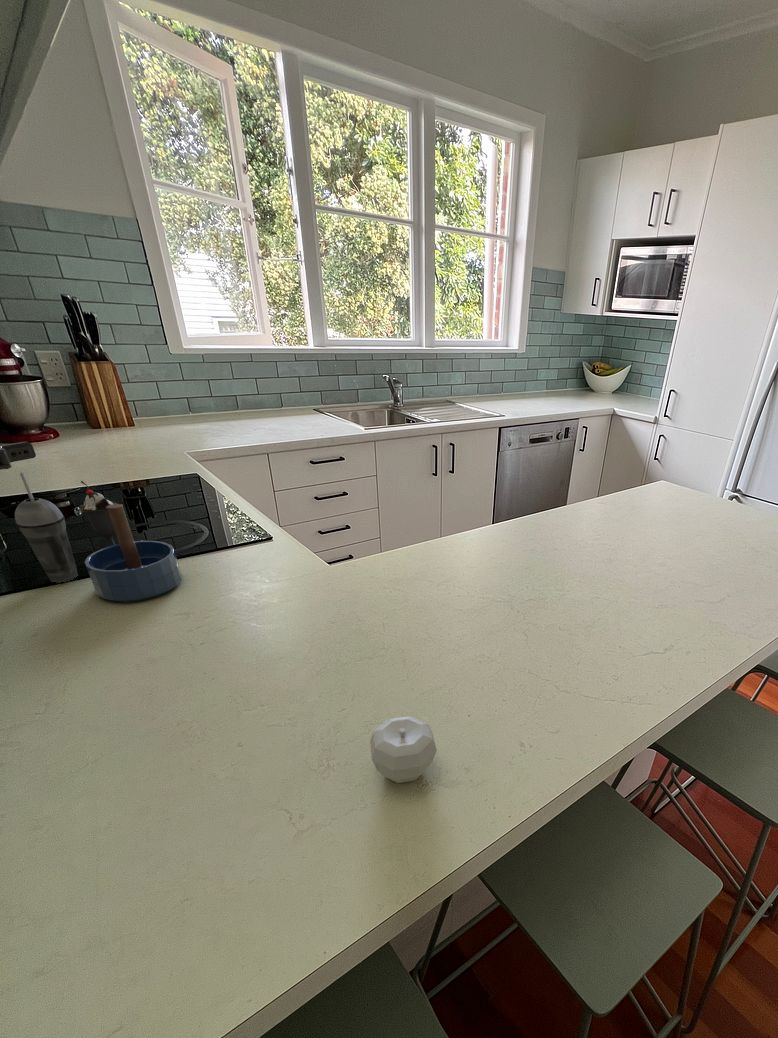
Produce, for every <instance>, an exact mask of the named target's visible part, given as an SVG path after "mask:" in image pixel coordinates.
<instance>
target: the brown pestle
mask: <svg viewBox="0 0 778 1038" xmlns="http://www.w3.org/2000/svg"><path fill="white" fill-rule="evenodd" d="M107 510H108V513H109V516H110V519H111V522H112V525H113V527H114V530H115V536H116V539H117V542H118V544H119V545H120V548H121V551H122V554H123V557H124V560H125V563H126V566H127V568H125V569H133V568H138V567H142V566H146V565H142V564H141V561H140V558H139V554H138V551H137V548H136V545H135V538H134V537H133V533H132V530H131V528H130V523H129V520H128V517H127V514H126V512H125V508H124V506H123V504H121V503H117V504H112V505H109V506H107ZM125 569H124V570H125Z"/></svg>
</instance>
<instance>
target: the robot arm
mask: <svg viewBox="0 0 778 1038" xmlns="http://www.w3.org/2000/svg"><path fill="white" fill-rule="evenodd" d="M36 456H37V453H36V451H35V448H34V446H33V444H32V443H31V442H29V441H19V442H13V443H8V444H1V443H0V471H2V470H9V469H12V468H13V466H12V463H15V462H20V461H21V462H22V461H26V460H30V459H35V458H36Z"/></svg>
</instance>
